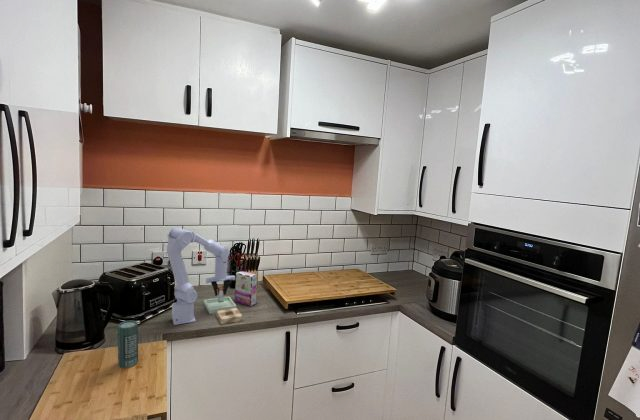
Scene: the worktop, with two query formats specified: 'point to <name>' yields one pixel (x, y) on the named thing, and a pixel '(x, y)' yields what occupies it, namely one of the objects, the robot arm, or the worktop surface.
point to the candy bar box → (246, 288)
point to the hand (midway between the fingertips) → (220, 294)
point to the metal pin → (220, 293)
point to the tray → (218, 305)
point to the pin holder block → (229, 315)
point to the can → (127, 344)
